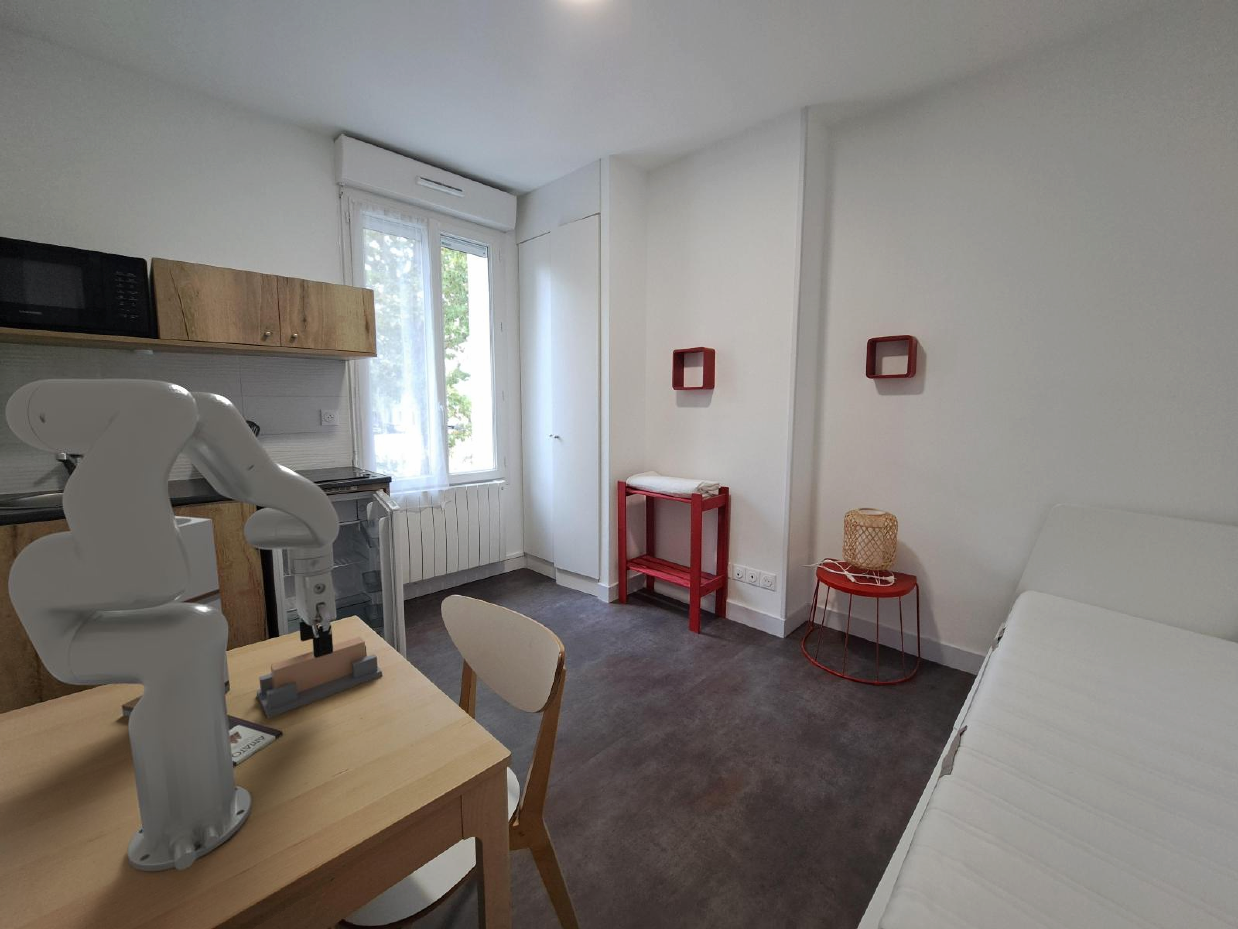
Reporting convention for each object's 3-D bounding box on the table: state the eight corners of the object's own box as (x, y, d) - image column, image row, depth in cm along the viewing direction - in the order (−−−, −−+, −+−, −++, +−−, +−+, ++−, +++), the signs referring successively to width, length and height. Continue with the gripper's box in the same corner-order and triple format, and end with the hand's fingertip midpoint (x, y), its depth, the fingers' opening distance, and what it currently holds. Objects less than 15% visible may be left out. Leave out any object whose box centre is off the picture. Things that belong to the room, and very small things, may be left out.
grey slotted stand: (382, 675, 104) (381, 657, 103) (267, 718, 90) (265, 698, 89) (365, 658, 111) (364, 641, 110) (257, 695, 97) (255, 676, 96)
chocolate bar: (212, 710, 91) (282, 731, 86) (212, 714, 91) (283, 736, 86) (153, 741, 83) (227, 768, 77) (154, 747, 83) (227, 773, 77)
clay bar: (366, 668, 105) (364, 641, 104) (276, 700, 94) (273, 670, 93) (361, 662, 107) (359, 636, 106) (273, 693, 96) (270, 664, 95)
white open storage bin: (191, 681, 101) (171, 515, 97) (230, 689, 99) (211, 519, 94) (123, 715, 90) (97, 530, 86) (164, 725, 88) (140, 534, 83)
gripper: (346, 568, 93) (351, 655, 95) (320, 551, 105) (325, 628, 107) (300, 577, 88) (306, 669, 90) (278, 558, 100) (284, 639, 102)
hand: (316, 646), depth 98 cm, fingers open, 9 cm apart
